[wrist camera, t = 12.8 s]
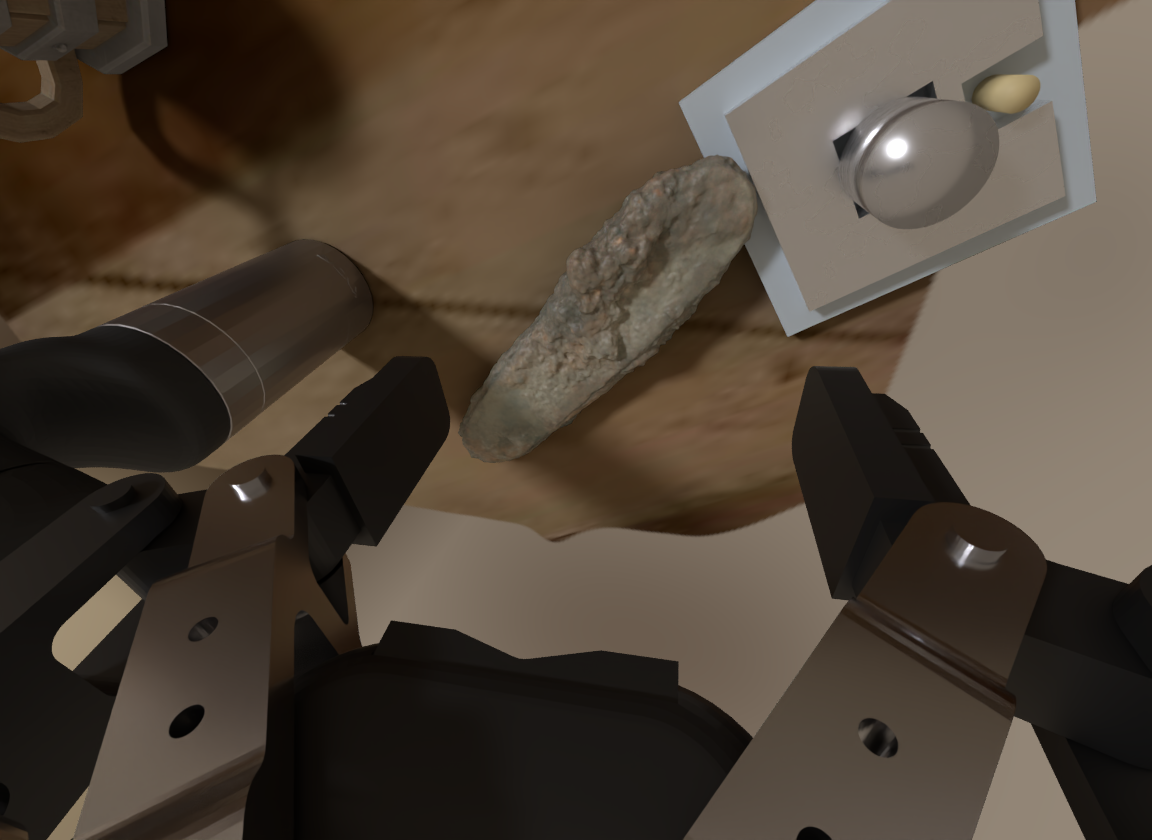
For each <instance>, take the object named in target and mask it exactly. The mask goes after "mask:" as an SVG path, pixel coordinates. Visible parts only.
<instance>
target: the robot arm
mask: <svg viewBox="0 0 1152 840" xmlns="http://www.w3.org/2000/svg"><path fill="white" fill-rule="evenodd" d="M372 313H373V303H372V296H371V293H370V290H369V287H368V285H367V283H366V281H365V279H364V277H363V276H362V274H361V273H360V272H359V270H358V269H357V268H356V266H355V265H354V264H353V263H352V262H351V261H350V260H349V259H348V258H347V257H346V256H345V255H343V254H342V253H340V252H339V251H338V250H336V249H335V248H333V247H331V246H329V245H327V244H325V243H322V242H318V241H315V240H306V239H303V240H297V241H293V242H291V243H289V244H286V245H284V246H282V247H279V248H277V249H275V250H272V251H270V252H268V253H266V254H263V255H260V256H258V257H256V258H253V259H251V260H249V261H246V262H244V263H242V264H240V265H237V266H235V267H233V268H230V269H228V270H226V271H223V272H221V273H219V274H216V275H214V276H212V277H210V278H207V279H205V280H203V281H200V282H198V283H196V284H193V285H191V286H189V287H187V288H184V289H182V290H180V291H177V292H175V293H173V294H170V295H168V296H166V297H164V298H161V299H159V300H157V301H154V302H152V303H150V304H147V305H145V306H143V307H141V308H139V309H137V310H134V311H132V312H130V313H127V314H125V315H123V316H120V317H118V318H116V319H114V320H111V321H109V322H107V323H104V324H102V325H100V326H97V327H95V328H93V329H91V330H88V331H86V332H84V333H81V334H78V335H75V336H67V337H49V338H40V339H34V340H29V341H24V342H21V343H17V344H14V345H11V346H8V347H5V348H2V349H0V840H46V839H47V838H48V837H49V836H50V834H51V833H52V832H53V831H54V829H55V828H56V827H57V825H58V824H59V823H60V822H61V820H62V819H63V818H64V816H65V815H66V814H67V813H68V811H69V810H70V809H71V808H72V806H73V805H74V804H75V803H76V801H77V800H78V799H79V797H80V796H81V795H82V794H83V792H84V791H85V790H86V789H87V787H88V786H89V788H88V792H87V795H86V798H85V801H84V805H83V808H82V811H81V815H80V818H79V821H78V824H77V828H76V831H75V835H74V838H72V839H71V840H972V838H973V835H974V832H975V829H976V826H977V823H978V820H979V817H980V815H981V811H982V809H983V806H984V803H985V800H986V797H987V794H988V791H989V788H990V785H991V782H992V779H993V776H994V773H995V770H996V767H997V765H998V761H999V759H1000V755H1001V753H1002V750H1003V747H1004V744H1005V741H1006V738H1007V735H1008V732H1009V729H1010V726H1011V723H1012V720H1013V717H1014V716H1015V717H1017V718H1020V719H1022V720H1024V721H1027V722H1029V723H1031V725H1032V727H1033V729H1034V731H1035V733H1036V735H1037V737H1038V739H1039V741H1040V744H1041V746H1042V748H1043V750H1044V752H1045V754H1046V756H1047V758H1048V760H1049V763H1050V765H1051V767H1052V769H1053V771H1054V773H1055V776H1056V778H1057V780H1058V782H1059V784H1060V786H1061V788H1062V790H1063V793H1064V795H1065V797H1066V799H1067V801H1068V803H1069V805H1070V807H1071V810H1072V812H1073V814H1074V816H1075V818H1076V820H1077V822H1078V824H1079V827H1080V829H1081V831H1082V833H1083V835H1084V837H1085V839H1086V840H1152V565H1151V566H1149V567H1147V568H1145V569H1144V570H1143V571H1142V572H1141V573H1140V574H1139V575H1138V576H1137V577H1136V578H1135V579H1134V580H1133V581H1132V582H1131V583H1130V584H1127V583H1123V582H1120V581H1116V580H1113V579H1109V578H1106V577H1102V576H1098V575H1096V574H1092V573H1088V572H1085V571H1082V570H1078V569H1075V568H1071V567H1068V566H1064V565H1061V564H1057V563H1055V562H1051V561H1049V560H1046V559H1045V557H1044V555H1043V553H1042V551H1041V550H1040V549H1039V547H1038V545H1037V544H1036V543H1035V542H1034V541H1033V540H1032V539H1031V538H1030V537H1029V536H1028V535H1027V534H1026V533H1024V532H1023V531H1022V530H1021V529H1019V528H1017V527H1016V526H1015V525H1013V524H1012V523H1010V522H1009V521H1007V520H1005V519H1003V518H1001V517H999V516H997V515H995V514H993V513H991V512H988V511H986V510H983V509H980V508H977V507H973V506H971V505H970V504H969V502H968V501H967V499H966V498H965V496H964V495H963V493H962V492H961V490H960V489H959V487H958V486H957V484H956V483H955V481H954V479H953V478H952V476H951V475H950V474H949V472H948V470H947V469H946V467H945V466H944V465H943V463H942V461H941V460H940V458H939V457H938V455H937V454H936V452H935V451H934V450H933V449H931V448H930V446H931V445H930V443H929V442H928V440H927V439H926V437H925V436H924V434H923V433H920V428H919V426H918V425H917V424H916V422H915V420H914V419H913V417H912V416H911V414H910V413H909V411H908V410H907V409H905V408H904V407H903V406H901V405H900V404H898V403H897V402H896V401H894V400H893V399H891V398H890V397H889V396H887V395H886V394H874V393H871V391H870V389H869V388H868V386H867V384H866V382H865V381H864V379H863V377H862V376H861V374H860V372H859V371H858V369H857V368H855V367H824V366H813V367H811V368H810V370H809V372H808V374H807V377H806V381H805V385H804V389H803V393H802V397H801V401H800V406H799V410H798V414H797V418H796V422H795V426H794V430H793V436H792V456H793V461H794V465H795V468H796V472H797V476H798V479H799V483H800V486H801V490H802V493H803V497H804V501H805V504H806V508H807V511H808V515H809V518H810V522H811V525H812V529H813V533H814V536H815V539H816V543H817V547H818V550H819V554H820V558H821V561H822V565H823V568H824V572H825V575H826V579H827V583H828V586H829V589H830V593H831V597H832V598H833V599H841V600H849V601H848V602H847V604H846V605H845V606H844V607H843V609H842V610H841V612H840V613H839V615H838V616H837V617H836V619H835V620H834V622H833V623H832V625H831V626H830V628H829V629H828V630H827V632H826V633H825V635H824V636H823V638H822V639H821V641H820V642H819V644H818V645H817V646H816V648H815V649H814V651H813V652H812V654H811V655H810V657H809V658H808V659H807V661H806V662H805V664H804V665H803V667H802V668H801V670H800V671H799V673H798V674H797V675H796V677H795V678H794V680H793V681H792V683H791V684H790V686H789V687H788V688H787V690H786V691H785V693H784V694H783V696H782V697H781V699H780V700H779V702H778V703H777V704H776V706H775V707H774V709H773V710H772V711H771V713H770V714H769V716H768V717H767V719H766V720H765V722H764V723H763V725H762V726H761V727H760V729H759V730H758V732H757V733H756V735H755V736H754V738H752V736H751V735H750V734H749V733H748V732H747V731H746V730H745V729H744V728H743V727H741V726H740V725H739V724H738V723H737V722H736V721H735V720H734V719H733V718H732V717H730V716H729V715H728V714H727V713H725V712H724V711H723V710H721V709H720V708H719V707H717V706H716V705H714V704H713V703H711V702H710V701H708V700H706V699H705V698H703V697H701V696H699V695H698V694H696V693H694V692H692V691H690V690H688V689H686V688H683V687H681V686H679V685H678V661H671V660H664V659H657V658H650V657H642V656H636V655H629V654H622V653H614V652H607V651H593V652H584V653H576V654H567V655H558V656H550V657H541V658H533V659H518V658H516V657H513V656H511V655H508V654H506V653H504V652H502V651H500V650H498V649H496V648H494V647H491V646H489V645H487V644H485V643H483V642H480V641H479V640H476V639H474V638H472V637H470V636H468V635H466V634H463V633H461V632H459V631H457V630H454V629H447V628H440V627H433V626H426V625H419V624H411V623H405V622H398V621H391V622H390V624H389V625H388V627H387V629H386V631H385V633H384V635H383V637H382V639H381V640H380V643H378V644H372V645H369V646H364V647H362V644H361V641H360V636H359V629H358V621H357V612H356V604H355V596H354V588H353V581H352V571H351V564H350V561H349V559H348V557H347V555H346V551H347V550H348V548H349V547H350V545H351V544H359V545H368V546H377V545H378V543H379V542H380V540H381V539H382V537H383V536H384V534H385V533H386V531H387V530H388V528H389V526H390V525H391V523H392V522H393V520H394V519H395V517H396V515H397V514H398V512H399V511H400V509H401V508H402V506H403V505H404V503H405V502H406V500H407V499H408V497H409V496H410V494H411V493H412V491H413V489H414V488H415V486H416V485H417V483H418V482H419V480H420V479H421V477H422V476H423V474H424V472H425V471H426V469H427V468H428V466H429V465H430V463H431V462H432V460H433V459H434V457H435V455H436V454H437V452H438V451H439V449H440V448H441V446H442V445H443V443H444V442H445V440H446V438H447V436H448V433H449V429H450V415H449V410H448V407H447V404H446V400H445V397H444V393H443V390H442V386H441V383H440V379H439V376H438V372H437V369H436V366H435V364H434V362H433V360H432V359H431V358H429V357H411V356H396V357H394V358H393V359H391V360H390V361H389V362H388V363H387V364H386V365H385V366H384V367H383V368H382V369H381V370H380V371H379V372H378V373H377V374H376V375H375V376H374V377H373V378H372V379H370V380H368V381H366V382H365V383H363V384H361V385H359V386H358V387H356V388H354V389H353V390H352V391H351V392H350V393H349V394H348V395H347V396H346V397H345V398H344V399H343V400H342V401H341V402H340V405H336V406H335V407H334V408H333V409H332V410H331V411H330V412H329V413H328V417H324V418H323V419H322V420H321V421H320V422H319V423H318V424H317V425H316V426H315V427H314V428H313V429H312V430H310V431H309V432H308V433H307V434H306V435H305V436H304V437H303V438H302V439H301V440H300V441H299V442H298V443H297V444H296V445H295V446H294V447H293V448H292V449H291V450H290V451H289V452H288V453H287V454H285V455H284V456H283V455H266V456H260V457H257V458H253V459H250V460H247V461H245V462H243V463H240V464H238V465H236V466H234V467H232V468H231V469H229V470H228V471H226V472H225V473H223V474H222V475H221V476H219V477H218V478H217V479H216V480H215V481H214V482H213V483H212V484H211V485H210V486H209V488H208V489H207V490H201V491H195V492H189V493H183V494H177V493H176V492H175V491H174V490H173V488H172V487H171V486H170V485H169V484H168V482H167V481H166V480H165V478H163V477H162V476H161V475H159V474H153V473H145V474H139V475H134V476H130V477H126V478H123V479H120V480H118V481H115V482H113V483H111V484H108V485H107V484H105V483H104V482H101V481H99V480H97V479H95V478H93V477H91V476H89V475H87V474H85V473H83V472H81V471H79V470H77V469H74V468H86V467H108V468H122V469H132V470H139V471H148V472H175V471H180V470H184V469H187V468H190V467H192V466H194V465H196V464H198V463H199V462H201V461H202V460H204V459H205V458H206V457H208V456H209V455H210V454H211V453H213V452H214V451H215V450H216V449H218V448H219V447H220V446H221V445H222V444H223V443H225V442H226V441H227V440H229V439H230V438H231V437H232V436H234V435H235V434H236V433H237V432H239V431H240V430H241V429H242V428H243V427H245V426H246V425H247V424H248V423H250V422H251V421H252V420H253V419H255V418H256V417H257V416H258V415H259V414H260V413H262V412H263V411H264V410H265V409H267V408H268V407H269V406H270V405H272V404H273V403H274V402H275V401H277V400H278V399H279V398H280V397H281V396H283V395H284V394H285V393H286V392H288V391H289V390H290V389H291V388H293V387H294V386H295V385H296V384H298V383H299V382H300V381H301V380H303V379H304V378H305V377H306V376H308V375H309V374H310V373H311V372H312V371H314V370H315V369H316V368H317V367H319V366H320V365H321V364H322V363H324V362H325V361H326V360H327V359H329V358H330V357H331V356H332V355H334V354H335V353H336V352H337V351H339V350H340V349H341V348H342V347H344V346H345V345H346V344H347V343H349V342H350V341H351V340H352V339H354V338H355V337H356V336H357V335H358V334H360V333H361V332H362V331H363V330H365V329H366V327H367V326H368V324H369V323H370V320H371V317H372ZM115 575H117V576H118V577H120V578H121V579H122V580H123V581H124V582H125V583H126V584H127V585H128V586H129V587H130V588H131V589H132V590H133V591H134V592H135V593H136V594H138V595H139V596H140V597H141V598H142V600H141V601H140V602H139V603H138V604H137V605H136V606H135V607H134V608H133V609H132V610H131V611H130V612H129V613H128V614H127V615H126V616H125V617H124V618H123V619H122V620H121V621H120V623H118V625H117V626H116V627H115V628H114V629H113V630H112V631H111V632H110V633H109V634H108V635H107V636H106V637H105V638H104V639H103V640H102V641H101V642H100V643H99V644H98V645H97V646H96V647H95V648H94V649H93V650H92V652H90V654H89V655H88V656H87V657H86V658H85V659H84V660H83V661H82V662H81V663H80V664H79V665H78V666H77V667H76V668H75V669H74V670H73V671H71V670H70V669H68V668H67V667H66V666H64V665H63V664H61V663H60V662H58V661H57V660H56V659H55V658H54V656H53V654H52V642H53V639H54V636H55V635H56V633H57V631H58V630H59V628H60V627H61V626H62V625H63V624H64V623H65V622H66V621H67V620H68V619H69V618H70V617H71V616H72V615H73V614H74V613H75V612H76V611H78V609H80V608H81V607H82V606H83V605H84V604H85V603H86V602H87V601H88V600H89V599H90V598H91V597H92V596H94V595H95V593H97V592H98V591H99V590H100V589H101V588H102V587H103V586H104V585H105V584H106V583H107V582H108V581H109V580H111V579H112V578H113V577H114V576H115Z"/></svg>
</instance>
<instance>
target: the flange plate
mask: <svg viewBox="0 0 1152 840" xmlns="http://www.w3.org/2000/svg"><path fill="white" fill-rule="evenodd" d="M1042 36H1043V30H1042V23H1041V15H1040V8H1039V1H1038V0H886V1H884V2H883V3H882V4H880V5H879V6H877V7H876V8H874V9H873V10H872V11H870V12H869V13H867V14H866V15H864V16H863V17H862V18H860V19H859V20H857V21H856V22H854V23H853V24H851V25H850V26H849V27H847V28H846V29H844V30H843V31H841V32H840V33H839V34H837V35H836V36H834V37H833V38H831V39H830V40H829V41H827V42H826V43H824V44H823V45H821V46H820V47H819V48H817V49H816V50H814V51H813V52H811V53H810V54H808V55H807V56H806V57H804V58H803V59H801V60H800V61H798V62H797V63H796V64H794V65H793V66H791V67H790V68H788V69H787V70H786V71H784V72H783V73H781V74H780V75H778V76H777V77H776V78H774V79H773V80H771V81H770V82H768V83H767V84H765V85H764V86H763V87H761V88H760V89H758V90H757V91H755V92H754V93H753V94H751V95H750V96H748V97H747V98H745V99H744V100H743V101H741V102H740V103H738V104H737V105H735V106H734V107H732V108H731V109H730V110H728V111H727V112H725V113H724V114H723V115H724V117H725V119H726V122H727V124H728V126H729V128H730V131H731V133H732V135H733V138H734V140H735V142H736V145H737V147H738V149H739V152H740V154H741V156H742V159H743V161H744V163H745V165H746V168H747V170H748V172H749V175H750V177H751V179H752V182H753V184H754V186H755V189H756V191H757V193H758V196H759V198H760V200H761V202H762V205H763V207H764V209H765V212H766V214H767V216H768V219H769V221H770V223H771V226H772V228H773V230H774V233H775V235H776V237H777V240H778V242H779V244H780V246H781V249H782V251H783V253H784V256H785V258H786V260H787V263H788V265H789V267H790V270H791V272H792V274H793V277H794V279H795V281H796V283H797V286H798V288H799V290H800V293H801V295H802V297H803V300H804V302H805V304H806V306H807V308H808V310H809V312H810V311H812V310H815V309H817V308H819V307H821V306H823V305H826V304H828V303H830V302H832V301H835V300H837V299H839V298H841V297H843V296H846V295H848V294H850V293H852V292H854V291H857V290H859V289H861V288H863V287H865V286H868V285H870V284H872V283H874V282H876V281H879V280H881V279H883V278H885V277H888V276H890V275H892V274H894V273H896V272H899V271H901V270H903V269H905V268H907V267H910V266H912V265H914V264H916V263H918V262H921V261H923V260H925V259H927V258H929V257H932V256H934V255H936V254H938V253H941V252H943V251H945V250H947V249H949V248H952V247H954V246H956V245H958V244H960V243H963V242H965V241H967V240H969V239H971V238H974V237H976V236H978V235H980V234H982V233H985V232H987V231H989V230H991V229H994V228H996V227H998V226H1000V225H1002V224H1005V223H1007V222H1009V221H1011V220H1013V219H1016V218H1018V217H1020V216H1022V215H1024V214H1027V213H1029V212H1031V211H1033V210H1036V209H1038V208H1040V207H1042V206H1044V205H1047V204H1049V203H1051V202H1053V201H1055V200H1058V199H1060V198H1062V197H1064V196H1065V188H1064V181H1063V174H1062V167H1061V160H1060V152H1059V145H1058V138H1057V131H1056V124H1055V116H1054V109H1053V102H1052V101H1049V100H1037V99H1035V101H1034V102H1033V103H1032V104H1031V105H1030V106H1029V107H1027V108H1026V109H1024V110H1023V111H1021V112H1018V113H1013V114H1010V113H1008V114H1006V115H1004V116H1002V117H1000V118H999V119H997V120H995V121H994V120H993V118H992V117H991V116H990V114H989V113H988V112H987V111H985V110H984V109H983V108H981V107H979V106H978V105H975V104H972V103H969V102H965V99H964V94H963V89H962V85H961V84H962V83H963V82H965V81H967V80H968V79H970V78H972V77H974V76H975V75H977V74H979V73H980V72H982V71H984V70H986V69H987V68H989V67H991V66H992V65H994V64H996V63H998V62H999V61H1001V60H1003V59H1004V58H1006V57H1008V56H1009V55H1011V54H1013V53H1015V52H1016V51H1018V50H1020V49H1021V48H1023V47H1025V46H1027V45H1028V44H1030V43H1032V42H1033V41H1035V40H1037V39H1039V38H1040V37H1042ZM922 87H923V91H924V95H925V97H918V96H909V97H907V96H908V95H910V94H912V93H913V92H915V91H917V90H918V89H920V88H922ZM855 127H856V128H855ZM854 128H855V129H854ZM852 129H854V130H853V132H852V133H851V135H850V136H849V138H848V140H847V141H846V143H845V146H844V148H843V150H842V154H841V157H840V161H839V159H838V156H837V153H836V150H835V147H834V144H833V141H834V140H835V139H837V138H839V137H840V136H842V135H844V134H845V133H847V132H849V131H850V130H852ZM853 201H854V202H856V203H857V204H858V205H859V206H861V207H862V208H860V209H858V210H856V208H855V205H854V202H853Z"/></svg>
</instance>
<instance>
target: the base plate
mask: <svg viewBox="0 0 1152 840" xmlns="http://www.w3.org/2000/svg"><path fill="white" fill-rule="evenodd" d="M884 1H886V0H815V1H814V2H813V3H811V4H810V5H809V6H807V7H806V8H805V9H803V10H802V11H801V12H799V13H798V14H797V15H795V16H794V17H793V18H791V19H790V20H789V21H787V22H786V23H785V24H783V25H782V26H780V27H779V28H778V29H776V30H775V31H774V32H772V33H771V34H770V35H768V36H767V37H766V38H764V39H763V40H762V41H760V42H759V43H758V44H756V45H755V46H754V47H752V48H751V49H750V50H748V51H747V52H745V53H744V54H743V55H741V56H740V57H739V58H737V59H736V60H735V61H733V62H732V63H731V64H729V65H728V66H727V67H725V68H724V69H723V70H721V71H720V72H719V73H717V74H716V75H715V76H713V77H712V78H710V79H709V80H708V81H706V82H705V83H704V84H702V85H701V86H700V87H698V88H697V89H696V90H694V91H693V92H692V93H690V94H689V95H688V96H686V97H685V98H684V99H682V100H681V101H679V105H680V107H681V109H682V111H683V113H684V115H685V118H686V120H687V122H688V124H689V126H690V128H691V130H692V133H693V135H694V137H695V139H696V141H697V143H698V145H699V148H700V150H701V152H702V154H703V156H704V158H705V157H707V156H710V155H713V156H715V155H719V156H727V157H731V158H732V159H733V160H734V161H735V162H736V163H737V164H738V165H739V166H740V168H741V169H742V170H743V171H745V172H746V174H747V177H748V179H749V181H750V182H751V183H752V184H753V182H752V179H751V177H750V175H749V172H748V170H747V168H746V165H745V163H744V161H743V159H742V156H741V154H740V152H739V149H738V147H737V145H736V142H735V140H734V138H733V135H732V133H731V131H730V128H729V126H728V124H727V122H726V119H725V117H724V115H723V114H724V113H725V112H727V111H728V110H730V109H731V108H732V107H734V106H735V105H737V104H738V103H740V102H741V101H743V100H744V99H745V98H747V97H748V96H750V95H751V94H753V93H754V92H755V91H757V90H758V89H760V88H761V87H763V86H764V85H765V84H767V83H768V82H770V81H771V80H773V79H774V78H776V77H777V76H778V75H780V74H781V73H783V72H784V71H786V70H787V69H788V68H790V67H791V66H793V65H794V64H796V63H797V62H798V61H800V60H801V59H803V58H804V57H806V56H807V55H808V54H810V53H811V52H813V51H814V50H816V49H817V48H819V47H820V46H821V45H823V44H824V43H826V42H827V41H829V40H830V39H831V38H833V37H834V36H836V35H837V34H839V33H840V32H841V31H843V30H844V29H846V28H847V27H849V26H850V25H851V24H853V23H854V22H856V21H857V20H859V19H860V18H862V17H863V16H864V15H866V14H867V13H869V12H870V11H872V10H873V9H874V8H876V7H877V6H879V5H880V4H882V3H883V2H884ZM1038 1H1039V8H1040V15H1041V23H1042V30H1043V36H1042V37H1040V38H1039V39H1037V40H1035V41H1033V42H1032V43H1030V44H1028V45H1027V46H1025V47H1023V48H1021V49H1020V50H1018V51H1016V52H1015V53H1013V54H1011V55H1009V56H1008V57H1006V58H1004V59H1003V60H1001V61H999V62H998V63H996V64H994V65H992V66H991V67H989V68H987V69H986V70H984V71H982V72H980V73H979V74H977V75H975V76H974V77H972V78H970V79H968V80H967V81H965V82H963V83H962V84H961V85H962V89H963V94H964V99H965V102H969V103H972V104H975V105H978V106H979V107H981V108H983V109H984V110H985V111H987V112H988V113H989V114H990V116H991V117H992V118H993V120H994V121H995V120H997V119H999V118H1000V117H1002V116H1004V115H1006V114H1008V113H1010V114H1013V113H1018V112H1021V111H1023V110H1024V109H1026V108H1027V107H1029V106H1030V105H1031V104H1032V103H1033V102H1034V101H1035V99H1037V100H1049V101H1052V102H1053V109H1054V116H1055V124H1056V131H1057V138H1058V145H1059V152H1060V160H1061V167H1062V174H1063V181H1064V188H1065V196H1064V197H1062V198H1060V199H1058V200H1055V201H1053V202H1051V203H1049V204H1047V205H1044V206H1042V207H1040V208H1038V209H1036V210H1033V211H1031V212H1029V213H1027V214H1024V215H1022V216H1020V217H1018V218H1016V219H1013V220H1011V221H1009V222H1007V223H1005V224H1002V225H1000V226H998V227H996V228H994V229H991V230H989V231H987V232H985V233H982V234H980V235H978V236H976V237H974V238H971V239H969V240H967V241H965V242H963V243H960V244H958V245H956V246H954V247H952V248H949V249H947V250H945V251H943V252H941V253H938V254H936V255H934V256H932V257H929V258H927V259H925V260H923V261H921V262H918V263H916V264H914V265H912V266H910V267H907V268H905V269H903V270H901V271H899V272H896V273H894V274H892V275H890V276H888V277H885V278H883V279H881V280H879V281H876V282H874V283H872V284H870V285H868V286H865V287H863V288H861V289H859V290H857V291H854V292H852V293H850V294H848V295H846V296H843V297H841V298H839V299H837V300H835V301H832V302H830V303H828V304H826V305H823V306H821V307H819V308H817V309H815V310H812V311H810V312H809V310H808V308H807V306H806V304H805V302H804V300H803V297H802V295H801V293H800V290H799V288H798V286H797V283H796V281H795V279H794V277H793V274H792V272H791V270H790V267H789V265H788V263H787V260H786V258H785V256H784V253H783V251H782V249H781V246H780V244H779V242H778V240H777V237H776V235H775V233H774V230H773V228H772V226H771V223H770V221H769V219H768V216H767V214H766V212H765V209H764V207H763V205H762V202H761V200H760V198H759V196H758V193H757V191H756V197H757V205H758V212H757V215H756V216H755V219H754V226H753V229H752V233H751V238H750V240H748V241H747V242H746V243H745V246H746V248H747V251H748V253H749V255H750V257H751V259H752V261H753V263H754V266H755V268H756V270H757V272H758V274H759V276H760V278H761V281H762V283H763V285H764V287H765V289H766V291H767V293H768V296H769V298H770V300H771V302H772V304H773V306H774V308H775V311H776V313H777V315H778V317H779V319H780V321H781V324H782V326H783V328H784V330H785V332H786V334H787V336H791V335H793V334H795V333H797V332H800V331H802V330H804V329H807V328H809V327H811V326H813V325H816V324H818V323H820V322H823V321H825V320H827V319H829V318H832V317H834V316H836V315H839V314H841V313H843V312H845V311H848V310H850V309H852V308H855V307H857V306H859V305H861V304H864V303H866V302H868V301H871V300H873V299H875V298H877V297H880V296H882V295H884V294H887V293H889V292H891V291H893V290H896V289H898V288H900V287H903V286H905V285H907V284H909V283H912V282H914V281H916V280H919V279H921V278H923V277H926V276H928V275H930V274H932V273H935V272H937V271H939V270H941V269H944V268H946V267H948V266H951V265H952V264H955V263H958V262H960V261H962V260H964V259H967V258H969V257H971V256H974V255H976V254H978V253H980V252H983V251H985V250H987V249H990V248H991V247H994V246H996V245H999V244H1001V243H1003V242H1006V241H1008V240H1010V239H1012V238H1015V237H1017V236H1019V235H1021V234H1024V233H1026V232H1028V231H1031V230H1033V229H1035V228H1038V227H1040V226H1042V225H1044V224H1046V223H1049V222H1051V221H1054V220H1056V219H1058V218H1060V217H1062V216H1065V215H1067V214H1070V213H1072V212H1074V211H1076V210H1079V209H1081V208H1083V207H1086V206H1088V205H1090V204H1092V203H1095V202H1097V201H1096V192H1095V183H1094V173H1093V164H1092V155H1091V145H1090V136H1089V127H1088V118H1087V108H1086V101H1085V100H1086V99H1085V90H1084V81H1083V72H1082V62H1081V53H1080V44H1079V34H1078V25H1077V16H1076V7H1075V0H1038ZM909 96H918V97H925V95H924V91H923V87H922V88H920V89H918V90H917V91H915V92H913V93H912V94H910V95H908V96H907V97H909ZM855 128H856V127H855ZM855 128H854V129H855ZM854 129H852V130H850V131H849V132H847V133H845V134H844V135H842V136H840V137H839V138H837V139H835V140H834V141H833V144H834V147H835V150H836V153H837V156H838V159H839V161H840V157H841V154H842V150H843V148H844V146H845V143H846V141H847V140H848V138H849V136H850V135H851V133H852V132H853V130H854ZM753 185H754V184H753ZM853 202H854V201H853ZM854 205H855V208H856V210H858V209H860V208H862V207H861V206H859V205H858V204H857V203H856V202H854Z"/></svg>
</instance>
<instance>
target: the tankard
mask: <svg viewBox="0 0 1152 840" xmlns="http://www.w3.org/2000/svg"><path fill="white" fill-rule="evenodd" d="M165 47H167V32H166V17H165V1H164V0H0V48H1V49H3V50H5V51H7V52H8V53H10V54H12V55H14V56H16V57H17V58H19V59H21V60H36V62H37V65H38V68H39V71H40V74H41V76H42V81H41V93H40V94H39V95H37V96H35V97H34V98H32V99H30V100H29V101H27V102H18V103H6V104H3V103H0V138H1V139H6V140H11V141H15V142H20V143H21V142H28V141H35V140H42V139H49V138H54V137H55V136H57V135H58V134H59V133H61V132H62V131H64V130H65V129H66V128H68V127H69V126H71V125H72V124H74V123H75V122H76V121H78V120H79V119H81V118H82V117H83V82H82V78H81V74H80V70H79V66H78V62H77V59H79V60H80V61H82V62H84V63H86V64H88V65H89V66H91V67H93V68H95V69H96V70H98V71H100V72H102V73H104V74H122V73H124V72H126V71H127V70H129V69H131V68H132V67H134V66H135V65H137V64H139V63H140V62H142V61H144V60H145V59H147V58H149V57H150V56H152V55H154V54H155V53H157V52H159V51H160V50H162V49H164V48H165Z"/></svg>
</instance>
